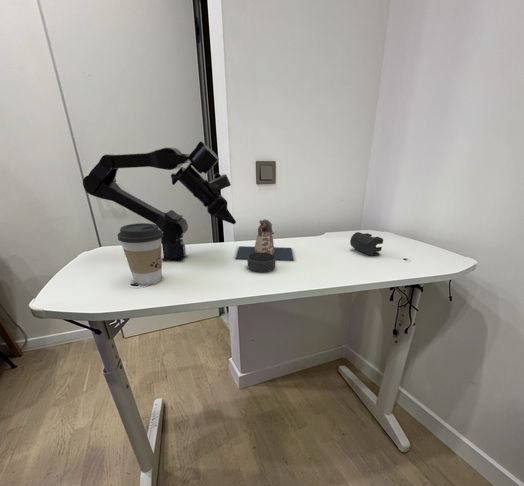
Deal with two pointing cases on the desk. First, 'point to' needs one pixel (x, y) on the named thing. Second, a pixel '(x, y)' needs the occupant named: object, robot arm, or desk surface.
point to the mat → (279, 253)
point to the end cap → (366, 243)
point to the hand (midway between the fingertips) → (232, 220)
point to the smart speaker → (261, 262)
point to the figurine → (264, 238)
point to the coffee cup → (143, 251)
